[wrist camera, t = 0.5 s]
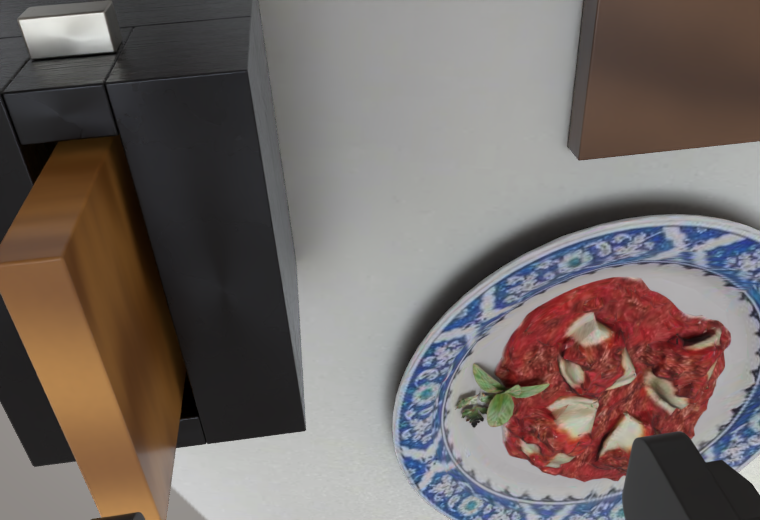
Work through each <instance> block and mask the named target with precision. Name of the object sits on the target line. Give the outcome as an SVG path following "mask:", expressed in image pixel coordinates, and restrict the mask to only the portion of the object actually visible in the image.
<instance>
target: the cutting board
mask: <svg viewBox="0 0 760 520" xmlns="http://www.w3.org/2000/svg"><path fill="white" fill-rule="evenodd" d="M756 141H760V0H584V6H583V15H582V24H581V33H580V42H579V51H578V60H577V69H576V78H575V87H574V96H573V105H572V114H571V123H570V132H569V141H568V148H569V149H570V150H571V151H572V153H573V154H574V155H575V156H576V158H577V159H578V160H588V159H597V158H607V157H616V156H625V155H635V154H644V153H653V152H663V151H672V150H681V149H690V148H700V147H709V146H718V145H728V144H737V143H746V142H756Z"/></svg>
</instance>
